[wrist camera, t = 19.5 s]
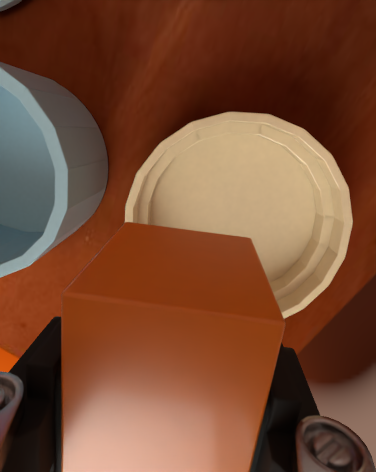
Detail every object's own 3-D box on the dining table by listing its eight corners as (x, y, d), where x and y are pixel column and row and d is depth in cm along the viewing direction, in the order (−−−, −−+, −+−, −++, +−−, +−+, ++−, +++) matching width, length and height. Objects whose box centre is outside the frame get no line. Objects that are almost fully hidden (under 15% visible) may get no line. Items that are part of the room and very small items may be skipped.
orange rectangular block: (125, 220, 10) (58, 292, 5) (251, 237, 10) (287, 323, 5) (114, 394, 12) (59, 548, 7) (219, 409, 12) (226, 573, 7)
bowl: (270, 71, 25) (284, 59, 20) (361, 246, 28) (388, 266, 24) (99, 186, 28) (80, 196, 24) (200, 329, 32) (199, 360, 27)
